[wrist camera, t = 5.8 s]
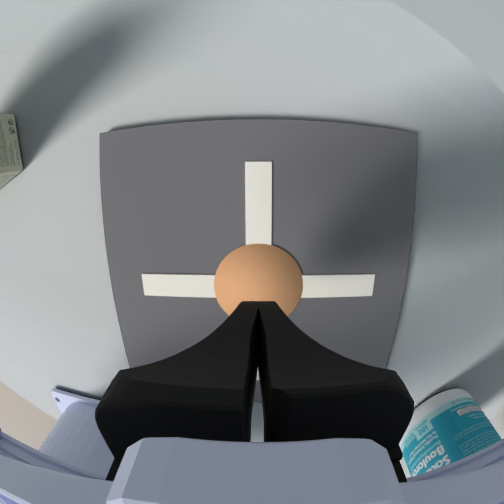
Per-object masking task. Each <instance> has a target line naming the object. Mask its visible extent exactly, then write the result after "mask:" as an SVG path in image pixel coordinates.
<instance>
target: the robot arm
mask: <svg viewBox="0 0 504 504" xmlns="http://www.w3.org/2000/svg"><path fill="white" fill-rule="evenodd" d="M257 371H258V372H259V381H260V389H261V397H262V406H263V416H264V442H250V439H251V416H252V407H253V400H254V393H255V386H256V378H257ZM51 394H52V396H53V398H54V400H55V402H56V404H57V406H58V408H59V410H60V412H61V414H62V415H61V417H60V418H59V420H58V421H57V423H56V424H55V426H54V427H53V429H52V430H51V432H50V433H49V435H48V436H47V438H46V439H45V441H44V442H43V444H42V446H41V447H40V449H39V450H36V449H34V448H32V447H29V446H28V445H26V444H24V443H22V442H20V441H18V440H16V439H14V438H12V437H10V436H9V435H7V434H5V433H3V432H2V431H1V429H0V504H504V439H502V440H500V441H498V442H497V443H495V444H493V445H491V446H489V447H487V448H485V449H483V450H480V451H478V452H476V453H474V454H472V455H470V456H467V457H465V458H463V459H460V460H458V461H455V462H453V463H450V464H448V465H445V466H443V467H440V468H437V469H434V470H431V471H429V472H426V473H423V474H419V475H416V476H413V477H410V478H406V477H405V474H404V471H403V469H402V466H401V464H400V461H399V460H401V459H402V457H403V453H402V451H401V448H400V446H399V443H400V441H401V439H402V437H403V435H404V433H405V431H406V430H407V428H408V426H409V423H410V421H411V419H412V416H413V413H414V401H413V399H412V397H411V396H410V394H409V392H408V390H407V388H406V386H405V384H404V383H403V381H402V380H401V378H400V377H399V376H398V374H397V373H396V371H392V370H388V369H383V368H379V367H374V366H370V365H366V364H363V363H360V362H357V361H355V360H352V359H349V358H347V357H344V356H342V355H340V354H338V353H336V352H334V351H332V350H330V349H328V348H326V347H324V346H322V345H321V344H319V343H318V342H316V341H315V340H313V339H312V338H310V337H309V336H308V335H306V334H305V333H304V332H303V331H302V330H301V329H299V328H298V327H297V326H296V325H295V324H294V323H293V322H292V321H291V320H290V319H289V318H288V316H287V315H286V314H285V313H284V312H283V310H282V309H281V308H280V307H279V305H278V304H277V303H276V302H275V301H242V302H240V303H239V305H238V306H237V307H236V309H235V310H234V311H233V312H232V313H231V314H230V316H229V317H228V318H227V319H226V320H225V321H224V322H223V323H222V324H221V325H220V326H219V327H218V328H217V329H215V330H214V331H213V332H212V333H211V334H210V335H208V336H207V337H206V338H204V339H203V340H201V341H200V342H198V343H197V344H195V345H193V346H191V347H189V348H187V349H185V350H183V351H181V352H179V353H177V354H175V355H173V356H170V357H168V358H165V359H163V360H160V361H157V362H154V363H150V364H147V365H142V366H138V367H134V368H129V369H124V370H120V371H119V372H118V374H117V375H116V376H115V378H114V379H113V380H112V382H111V384H110V385H109V387H108V389H107V390H106V392H105V394H104V395H103V397H102V399H101V400H96V399H92V398H88V397H84V396H80V395H76V394H73V393H69V392H65V391H62V390H59V389H55V388H53V389H52V391H51Z"/></svg>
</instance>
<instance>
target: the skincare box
mask: <svg viewBox="0 0 504 504" xmlns="http://www.w3.org/2000/svg"><path fill="white" fill-rule="evenodd" d="M22 170H23V166H22V160H21V155H20V148H19V142H18V136H17V129H16V123H15V116H14V114H5V113H0V189H1V188H2V187H3V186H4V185H6V184H7V183H8V182H9V181H10V180H11V179H13V178H14V177H15V176H16V175H17V174H19V173H20V172H21V171H22Z"/></svg>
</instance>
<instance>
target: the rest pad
mask: <svg viewBox="0 0 504 504" xmlns="http://www.w3.org/2000/svg"><path fill="white" fill-rule="evenodd" d="M416 167H417V136H416V133H413V132H407V131H401V130H395V129H389V128H382V127H374V126H366V125H357V124H348V123H337V122H324V121H308V120H283V119H235V120H210V121H194V122H181V123H170V124H160V125H152V126H143V127H136V128H129V129H122V130H116V131H110V132H104V133H100V182H101V200H102V213H103V224H104V234H105V243H106V251H107V258H108V265H109V272H110V278H111V284H112V290H113V296H114V301H115V306H116V311H117V316H118V321H119V325H120V330H121V334H122V338H123V343H124V347H125V351H126V355H127V358H128V362H129V366H130V368H134V367H138V366H142V365H147V364H150V363H154V362H157V361H160V360H163V359H165V358H168V357H170V356H173V355H175V354H177V353H179V352H181V351H183V350H185V349H187V348H189V347H191V346H193V345H195V344H197V343H198V342H200V341H201V340H203V339H204V338H206V337H207V336H208V335H210V334H211V333H212V332H213V331H214V330H215V329H217V328H218V327H219V326H220V325H221V324H222V323H223V322H224V321H225V320H226V319H227V318H228V317H229V316H230V314H231V313H232V312H233V311H234V310H235V309H236V307H237V306H238V305H239V303H240V302H242V301H275V302H276V303H277V304H278V305H279V307H280V308H281V309H282V310H283V312H284V313H285V314H286V315H287V316H288V318H289V319H290V320H291V321H292V322H293V323H294V324H295V325H296V326H297V327H298V328H299V329H301V330H302V331H303V332H304V333H305V334H306V335H308V336H309V337H310V338H312V339H313V340H315V341H316V342H318V343H319V344H321V345H322V346H324V347H326V348H328V349H330V350H332V351H334V352H336V353H338V354H340V355H342V356H344V357H347V358H349V359H352V360H355V361H357V362H360V363H363V364H366V365H370V366H374V367H379V368H383V369H386V366H387V362H388V358H389V355H390V351H391V347H392V343H393V339H394V335H395V331H396V327H397V322H398V318H399V313H400V308H401V303H402V298H403V293H404V288H405V282H406V276H407V270H408V263H409V256H410V248H411V240H412V231H413V221H414V209H415V193H416ZM253 402H262V397H261V389H260V381H259V372H258V371H257V378H256V386H255V393H254V400H253Z"/></svg>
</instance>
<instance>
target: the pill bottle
mask: <svg viewBox="0 0 504 504" xmlns="http://www.w3.org/2000/svg"><path fill="white" fill-rule="evenodd" d="M500 440H502V439H501V438H500V436H499V435H498V433H497V432H496V430H495V429H494V427H493V426H492V424H491V423H490V421H489V420H488V419H487V417H486V416H485V414H484V413H483V411H482V410H481V409H480V407H479V406H478V404H477V403H476V402H475V400H474V399H473V398H472V396H471V395H470V394H469V393H468V392H467V391H465V390H463V389H450V390H447V391H444V392H441V393H439V394H437V395H435V396H433V397H431V398H430V399H428V400H426V401H425V402H424V403H422V404H421V405H420V406H418V407H417V408H416V409H415V410H414V413H413V416H412V419H411V421H410V423H409V426H408V428H407V430H406V431H405V433H404V435H403V437H402V439H401V441H400V443H399V446H400V448H401V451H402V453H403V457H404V459H405V462H406V464H407V467H408V469H409V472H410V474H411V477H413V476H416V475H419V474H423V473H426V472H429V471H431V470H434V469H437V468H440V467H443V466H445V465H448V464H450V463H453V462H455V461H458V460H460V459H463V458H465V457H467V456H470V455H472V454H474V453H476V452H478V451H480V450H483V449H485V448H487V447H489V446H491V445H493V444H495V443H497V442H498V441H500Z"/></svg>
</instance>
